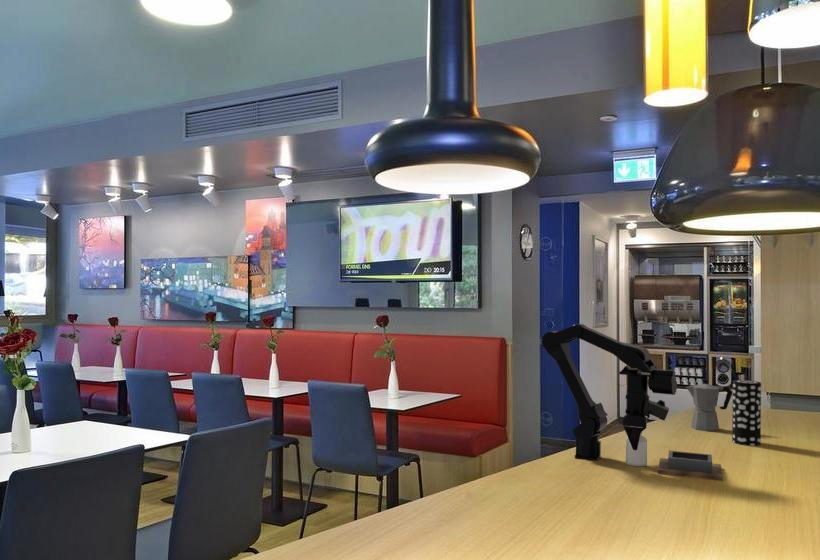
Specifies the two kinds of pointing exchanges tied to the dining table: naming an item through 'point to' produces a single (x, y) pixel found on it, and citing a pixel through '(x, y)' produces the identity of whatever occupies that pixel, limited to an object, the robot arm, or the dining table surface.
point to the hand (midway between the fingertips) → (636, 446)
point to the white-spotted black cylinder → (746, 412)
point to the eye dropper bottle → (637, 453)
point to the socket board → (714, 475)
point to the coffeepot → (707, 405)
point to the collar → (690, 461)
